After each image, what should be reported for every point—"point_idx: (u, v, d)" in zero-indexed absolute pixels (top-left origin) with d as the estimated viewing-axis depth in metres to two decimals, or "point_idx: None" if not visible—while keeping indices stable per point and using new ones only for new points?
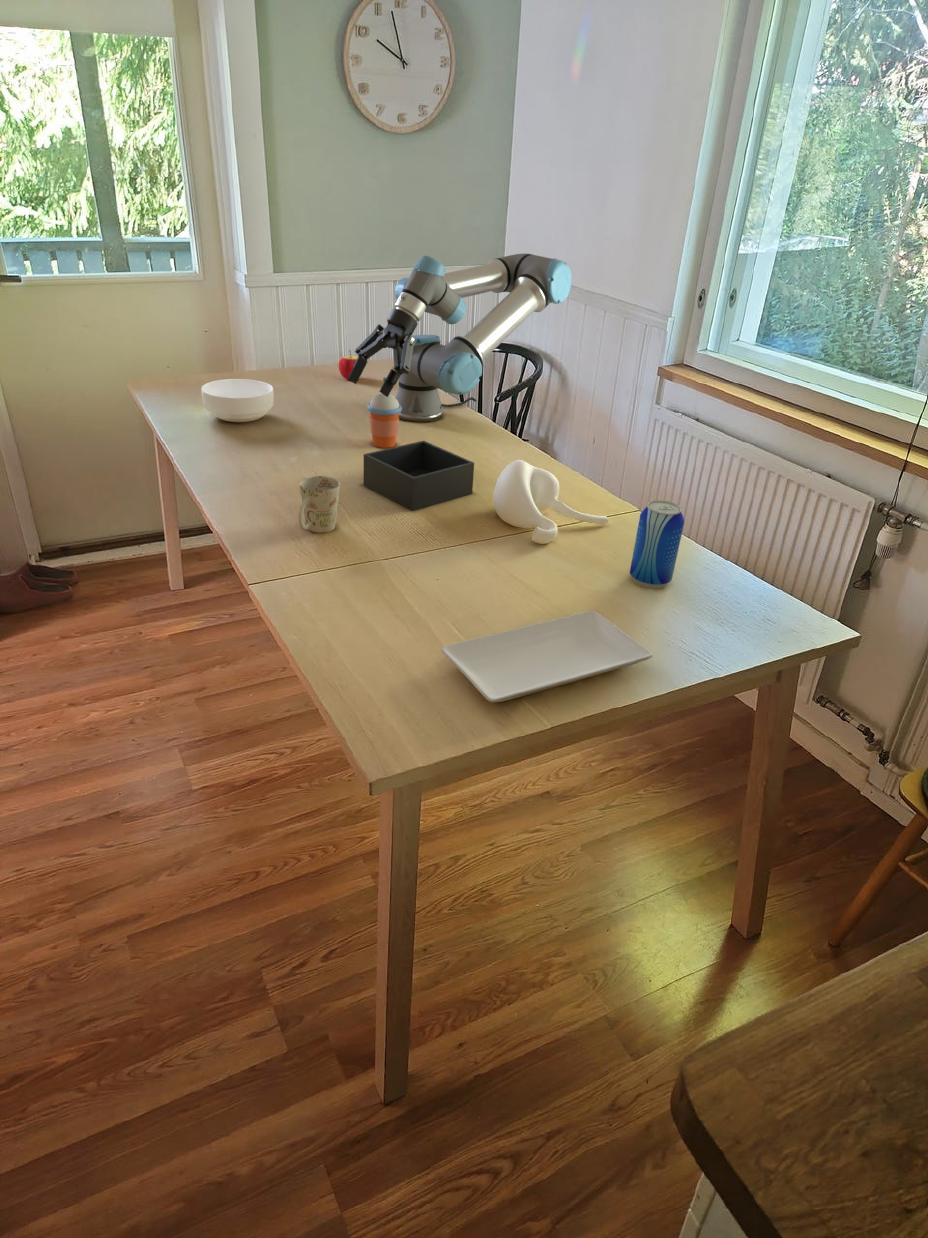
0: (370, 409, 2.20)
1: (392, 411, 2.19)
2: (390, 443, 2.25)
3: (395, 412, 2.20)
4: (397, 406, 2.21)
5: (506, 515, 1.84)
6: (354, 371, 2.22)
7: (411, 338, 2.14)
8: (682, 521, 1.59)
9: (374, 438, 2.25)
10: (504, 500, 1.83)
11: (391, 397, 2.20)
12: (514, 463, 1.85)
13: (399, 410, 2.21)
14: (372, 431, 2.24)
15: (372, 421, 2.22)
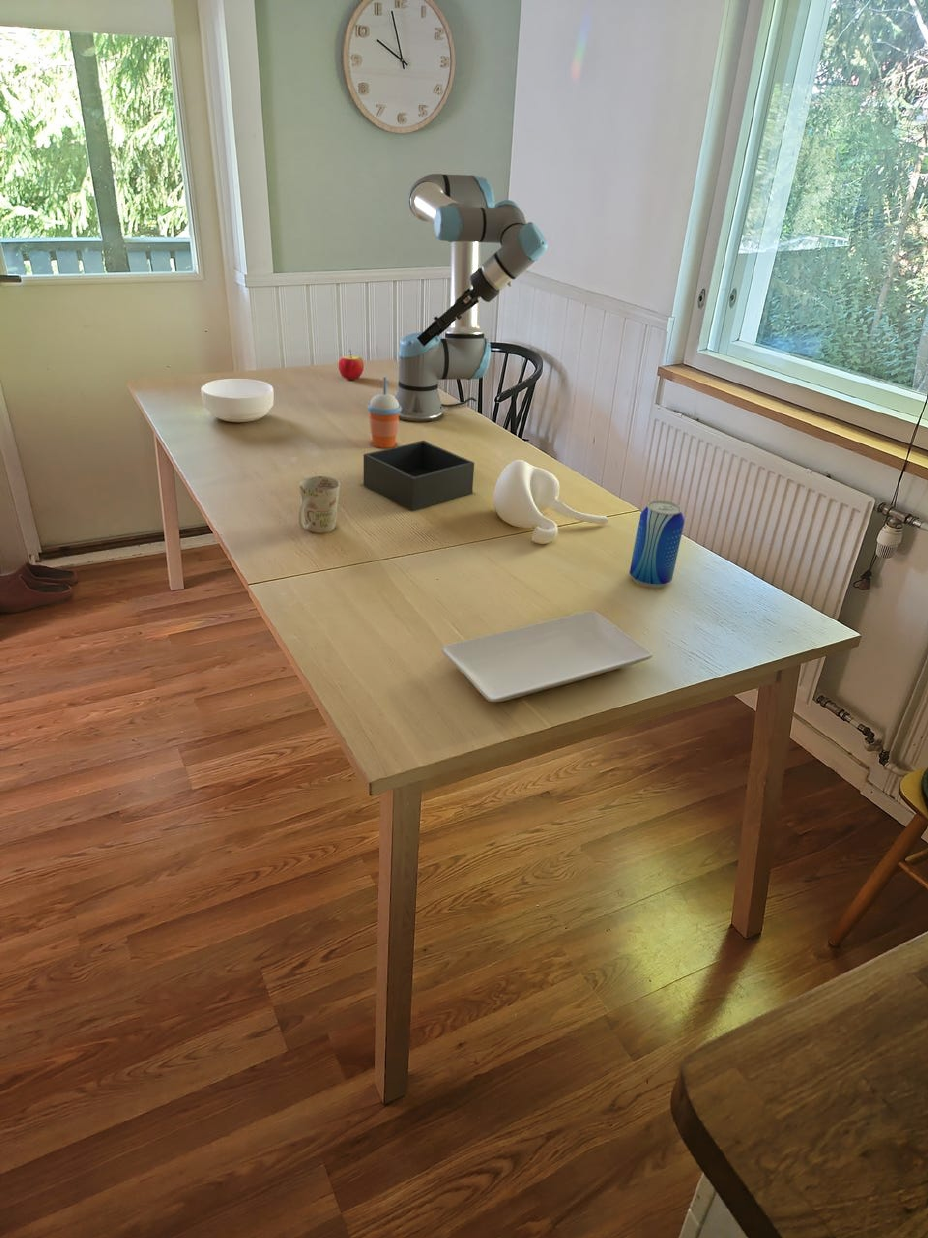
0: (370, 409, 2.20)
1: (392, 411, 2.19)
2: (390, 443, 2.25)
3: (395, 412, 2.20)
4: (397, 406, 2.21)
5: (506, 515, 1.84)
6: None
7: None
8: (682, 521, 1.59)
9: (374, 438, 2.25)
10: (504, 500, 1.83)
11: (391, 397, 2.20)
12: (514, 463, 1.85)
13: (399, 410, 2.21)
14: (372, 431, 2.24)
15: (372, 421, 2.22)
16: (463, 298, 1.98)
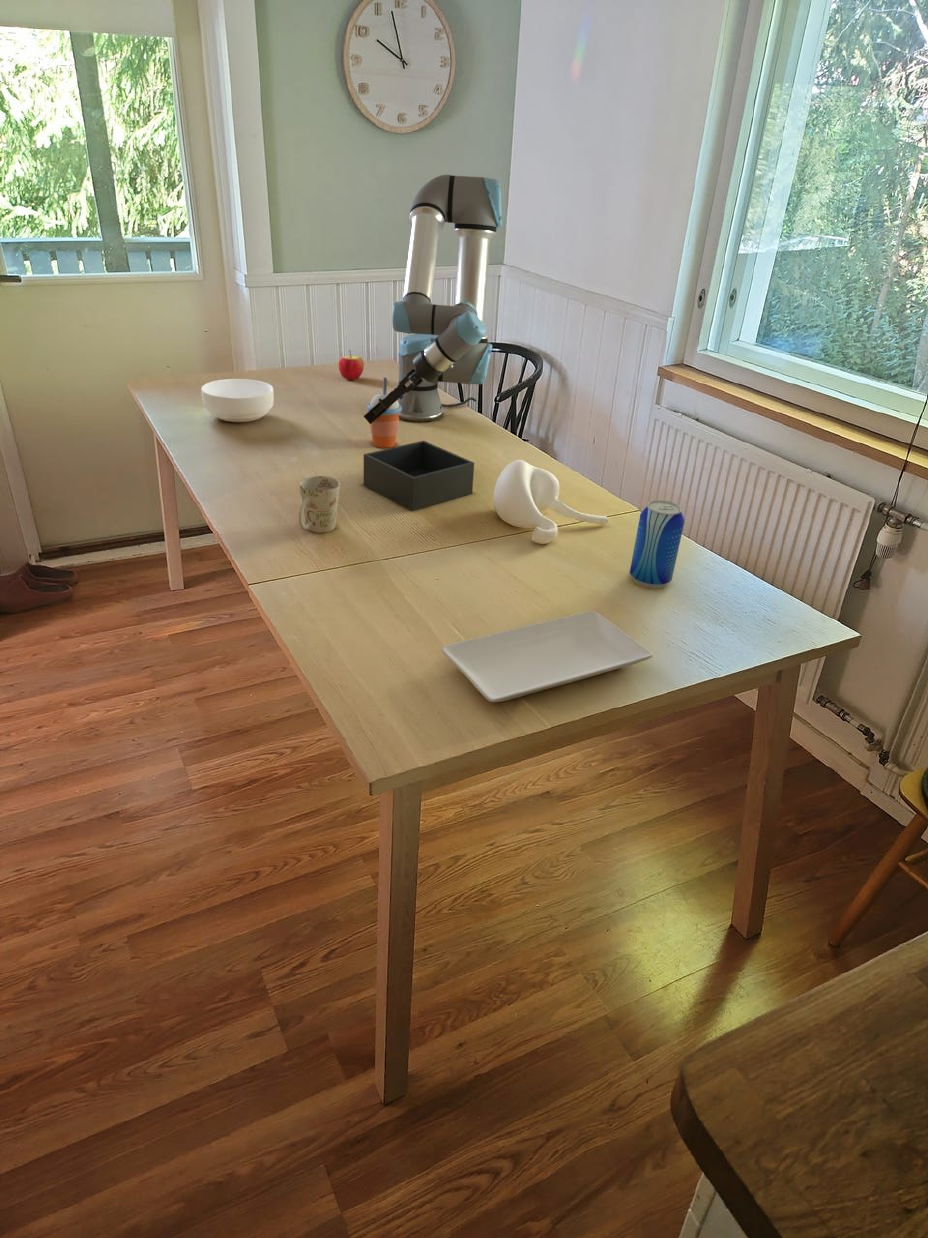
0: (370, 409, 2.20)
1: (392, 411, 2.19)
2: (390, 443, 2.25)
3: (395, 412, 2.20)
4: (397, 406, 2.21)
5: (506, 515, 1.84)
6: None
7: None
8: (682, 521, 1.59)
9: (374, 438, 2.25)
10: (504, 500, 1.83)
11: None
12: (514, 463, 1.85)
13: (399, 410, 2.21)
14: (372, 431, 2.24)
15: None
16: (404, 382, 2.11)
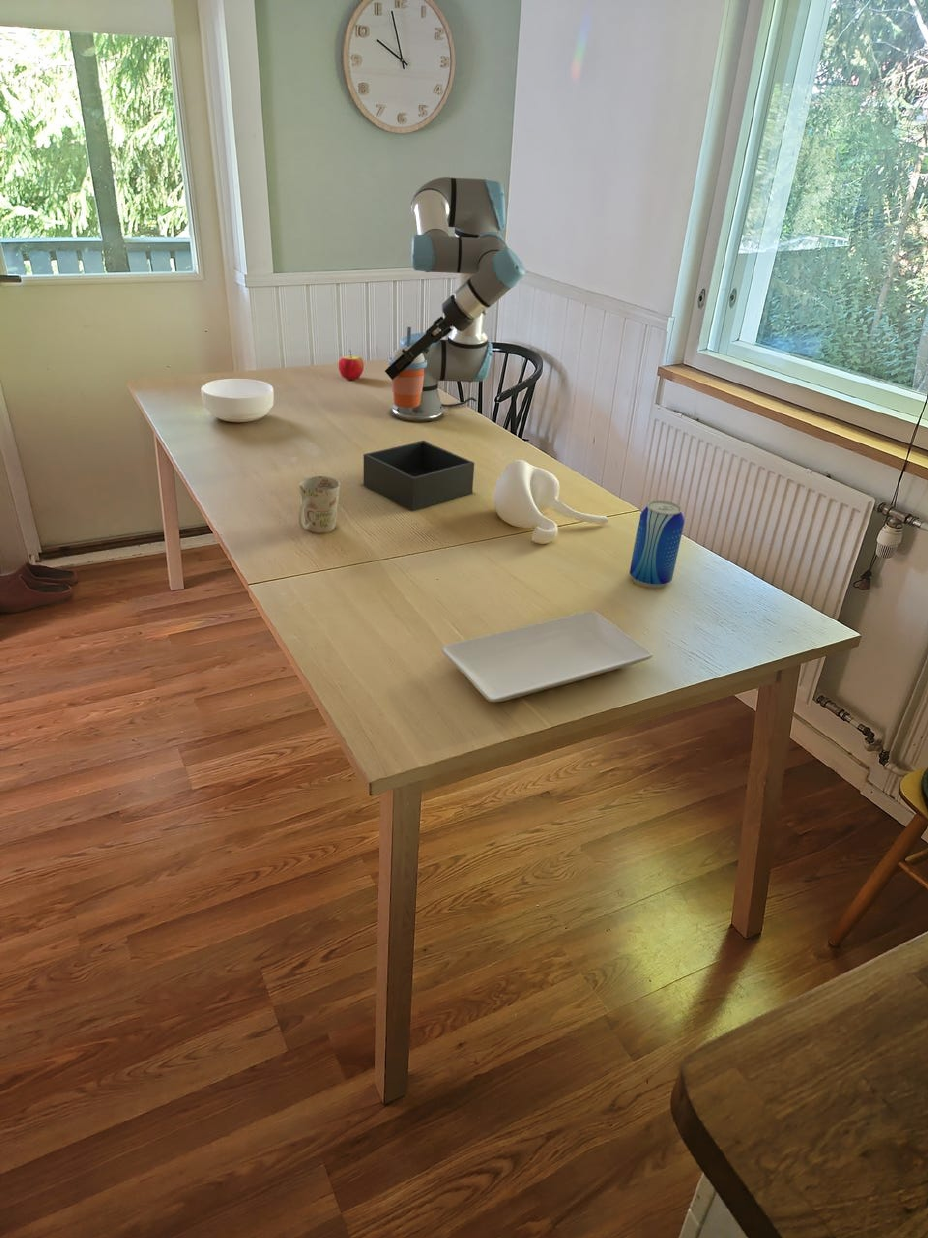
0: (392, 363, 1.94)
1: (417, 365, 1.94)
2: (414, 403, 1.99)
3: (420, 366, 1.94)
4: (422, 360, 1.95)
5: (506, 515, 1.84)
6: None
7: None
8: (682, 521, 1.59)
9: (396, 397, 1.99)
10: (504, 500, 1.83)
11: None
12: (514, 463, 1.85)
13: (425, 364, 1.96)
14: (394, 389, 1.98)
15: None
16: (432, 330, 1.86)
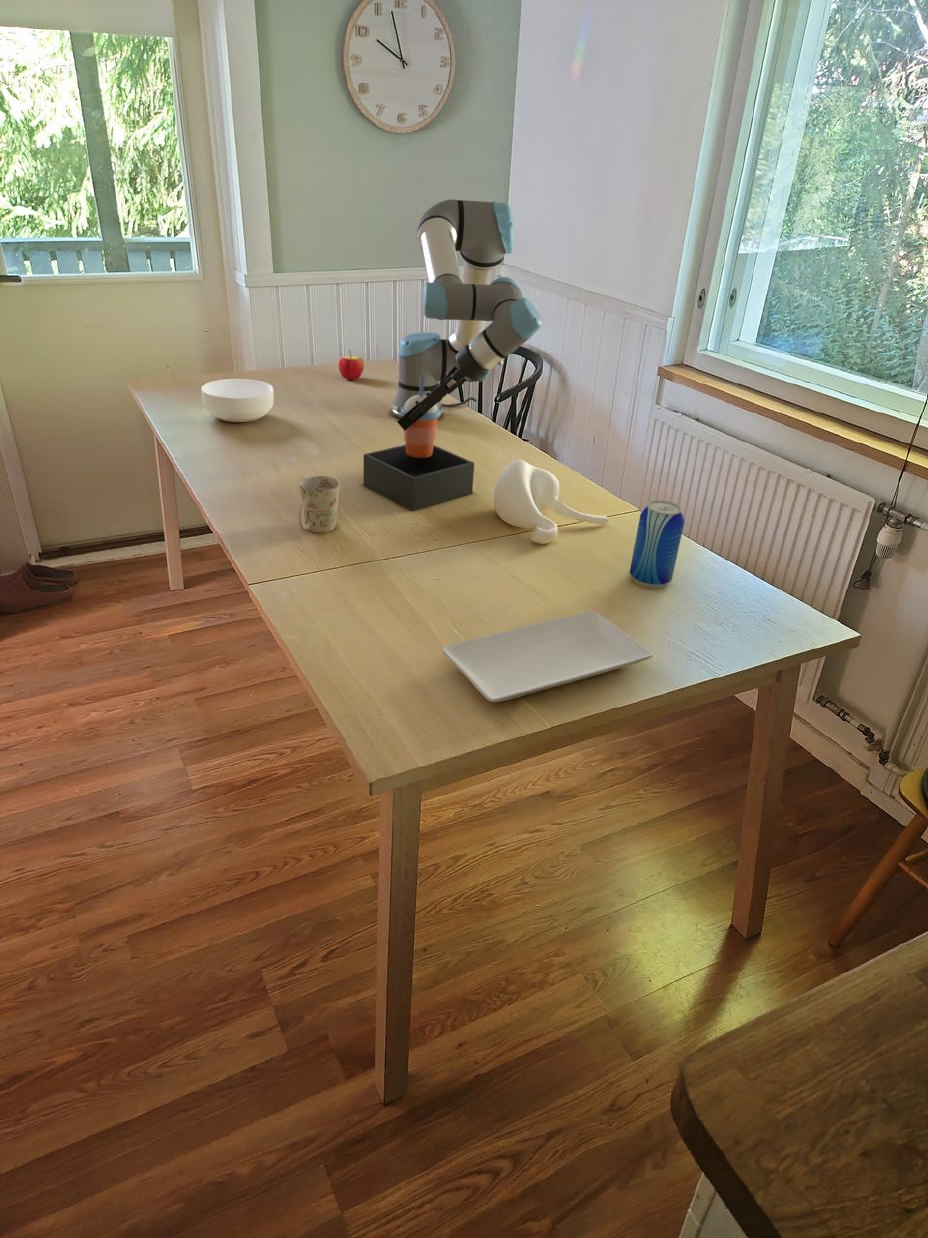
0: (404, 413, 1.89)
1: (430, 415, 1.89)
2: (427, 452, 1.94)
3: (433, 417, 1.89)
4: (436, 410, 1.90)
5: (506, 515, 1.84)
6: None
7: None
8: (682, 521, 1.59)
9: (408, 447, 1.94)
10: (504, 500, 1.83)
11: None
12: (514, 463, 1.85)
13: (438, 414, 1.90)
14: (406, 439, 1.93)
15: None
16: (446, 382, 1.81)
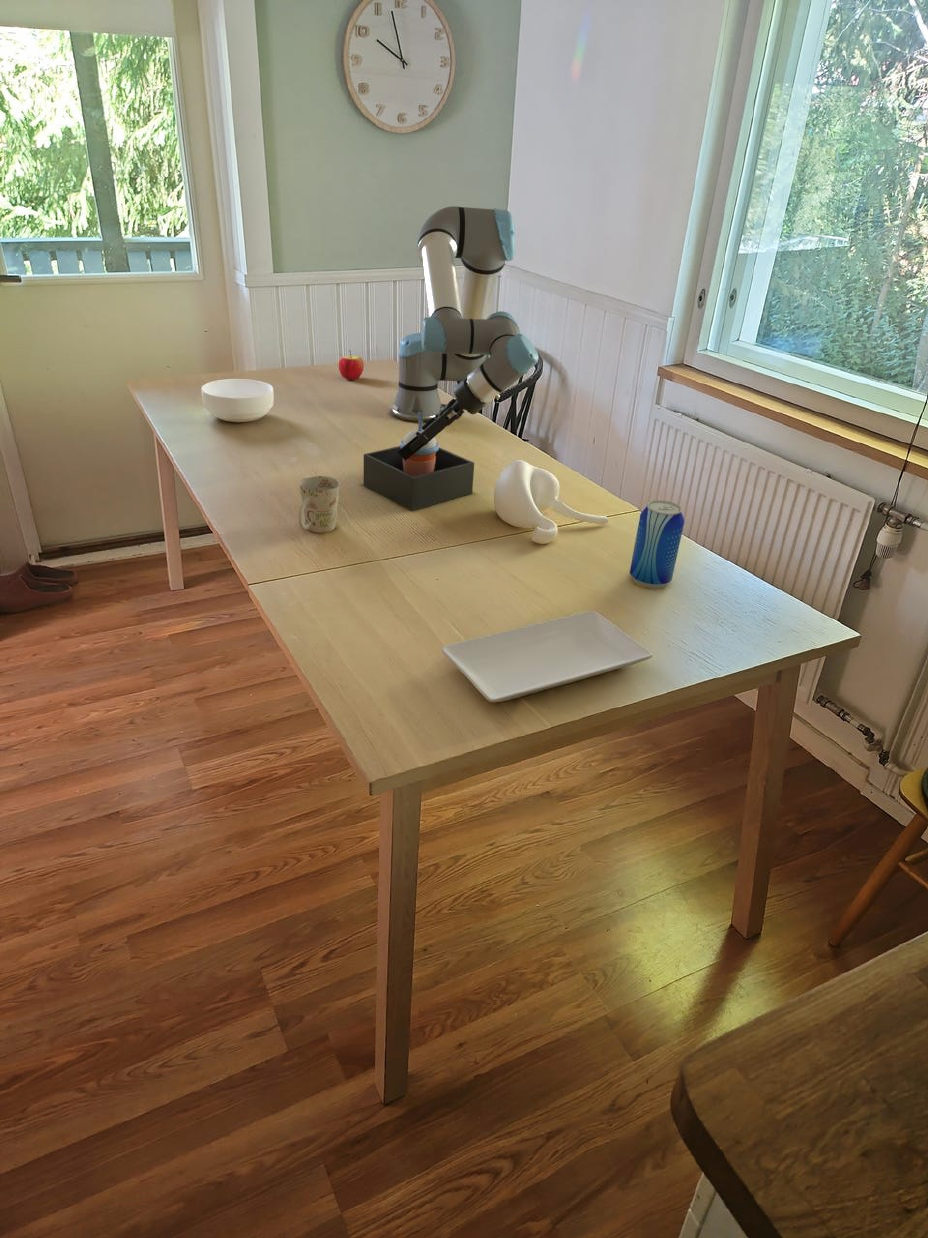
0: None
1: (429, 450, 1.93)
2: None
3: (432, 451, 1.93)
4: (434, 444, 1.94)
5: (506, 515, 1.84)
6: None
7: None
8: (682, 521, 1.59)
9: None
10: (504, 500, 1.83)
11: None
12: (514, 463, 1.85)
13: (436, 449, 1.95)
14: (405, 472, 1.97)
15: (405, 461, 1.95)
16: (447, 413, 1.84)
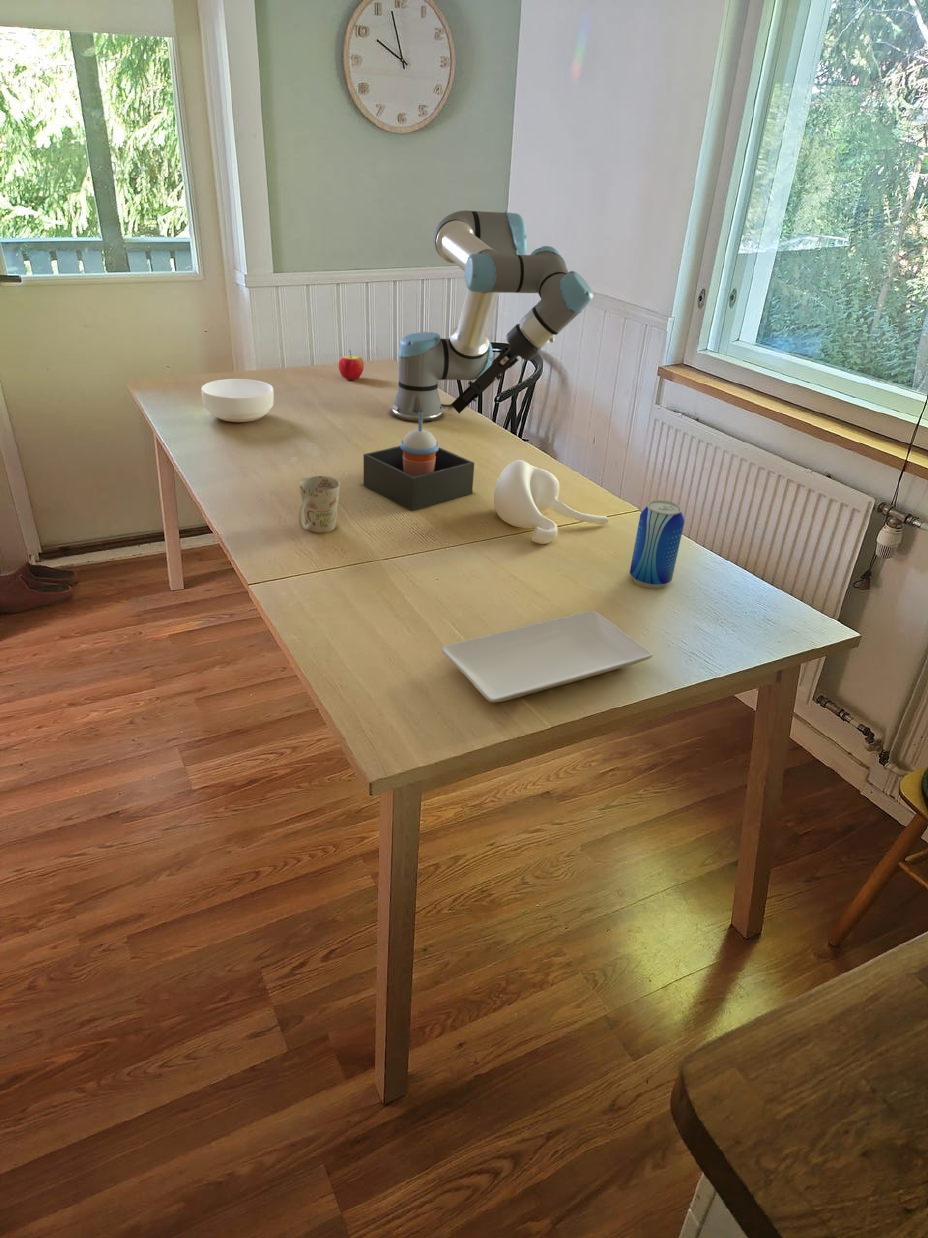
0: (404, 448, 1.93)
1: (429, 450, 1.93)
2: None
3: (432, 451, 1.93)
4: (434, 444, 1.94)
5: (506, 515, 1.84)
6: None
7: None
8: (682, 521, 1.59)
9: None
10: (504, 500, 1.83)
11: (427, 434, 1.94)
12: (514, 463, 1.85)
13: (436, 449, 1.95)
14: (405, 472, 1.97)
15: (406, 461, 1.95)
16: (500, 359, 1.77)
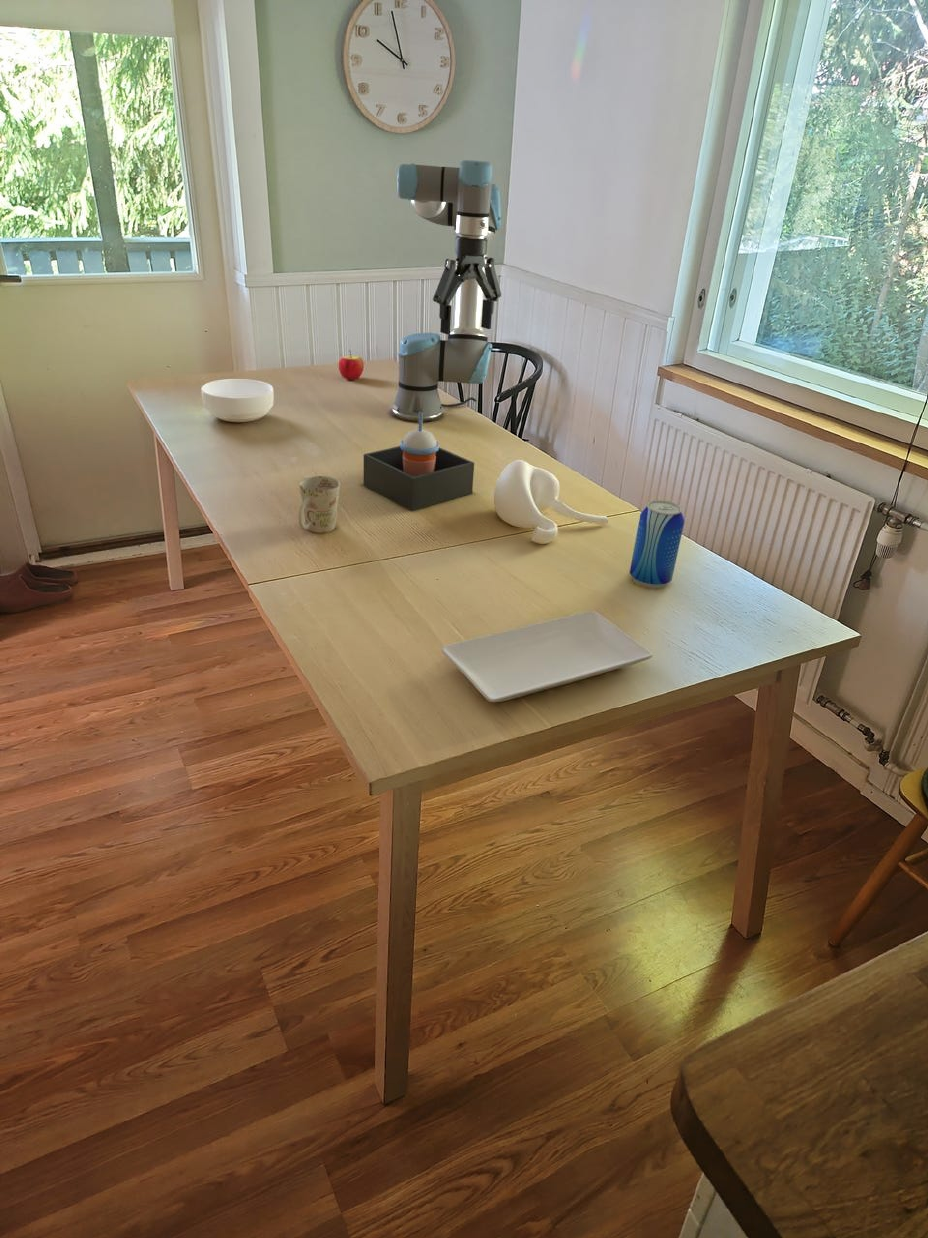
0: (404, 448, 1.93)
1: (429, 450, 1.93)
2: None
3: (432, 451, 1.93)
4: (434, 444, 1.94)
5: (506, 515, 1.84)
6: None
7: None
8: (682, 521, 1.59)
9: None
10: (504, 500, 1.83)
11: (428, 434, 1.94)
12: (514, 463, 1.85)
13: (436, 449, 1.95)
14: (405, 472, 1.97)
15: (406, 461, 1.95)
16: (446, 265, 1.94)
